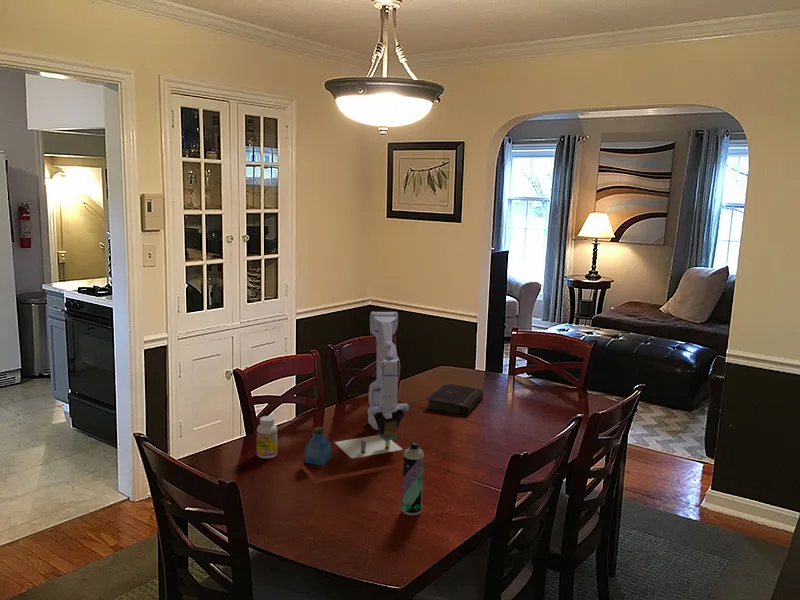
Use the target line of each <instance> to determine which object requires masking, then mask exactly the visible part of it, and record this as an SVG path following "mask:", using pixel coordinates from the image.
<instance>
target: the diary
mask: <svg viewBox="0 0 800 600" xmlns="http://www.w3.org/2000/svg"><path fill="white" fill-rule="evenodd" d="M483 397H484V389H483V388H477V387H472V386H467V385H463V384H456V383H455V384H454V383H443V384H442V385H441V386H439V388H438V389H436V390H435V391H434V392H432V393H431V394H430V395H428V396H427V397H426V399H425V400H426V401H428V406H427V407H426V408H425V410H426V411H431V412H432V411H433V412H437V413H445V414H447V413H449V414H457V415H461V416H463V415H464V414H465V413H466V415H465V416H466V417H468V415H470V413H471V411H472V410H473V409H475V407H476V406H477V405H478V404H479V402H480V401H481V400H482V399H483Z"/></svg>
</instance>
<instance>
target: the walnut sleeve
mask: <svg viewBox="0 0 800 600" xmlns="http://www.w3.org/2000/svg"><path fill="white" fill-rule="evenodd" d="M397 434H398V429H397V421H396V420H394V419H393V418H391V417H390V418H385V421H384V433H383V435H381V434H380V433H379V432H378V433H377V435H378V436H379V437H380V438H382V439H383V440H384V441H386V440H392V441H393V440H397V439H398V435H397Z"/></svg>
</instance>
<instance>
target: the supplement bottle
mask: <svg viewBox="0 0 800 600" xmlns="http://www.w3.org/2000/svg"><path fill="white" fill-rule="evenodd" d="M259 423H260V424H259V425H258V426H257V427H256V455H257V457H258V458H261V459H272V458H275V457H276V456H277V455H278V427H277V425H276V424H275V417H273V416H271V415H266V416H265V415H264V416H261V417H260V418H259Z"/></svg>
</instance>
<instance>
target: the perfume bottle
mask: <svg viewBox="0 0 800 600" xmlns="http://www.w3.org/2000/svg"><path fill="white" fill-rule="evenodd" d="M312 429H313V431H312V437H311V438H310V439H309V440H308V441H307V444H306V445H305V447H304V463H307V464H310V465H311V464H312V465H316V466H324V465H326V463H327V462H328V461H330V460H331V458H332V456H331V455H332V444H331V442H330V440H329V438H328V437H327V436H325V435H324V427H322V426H316V427H313V428H312Z"/></svg>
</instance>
